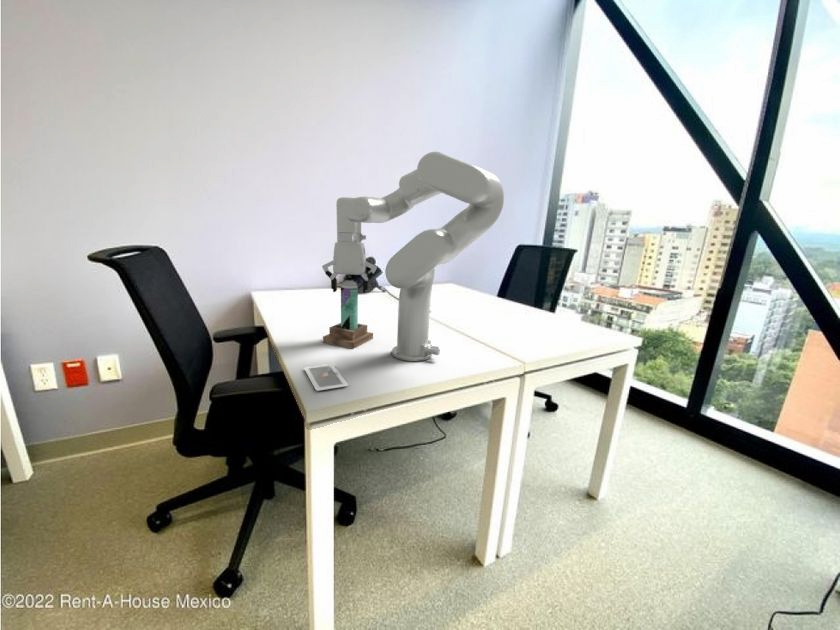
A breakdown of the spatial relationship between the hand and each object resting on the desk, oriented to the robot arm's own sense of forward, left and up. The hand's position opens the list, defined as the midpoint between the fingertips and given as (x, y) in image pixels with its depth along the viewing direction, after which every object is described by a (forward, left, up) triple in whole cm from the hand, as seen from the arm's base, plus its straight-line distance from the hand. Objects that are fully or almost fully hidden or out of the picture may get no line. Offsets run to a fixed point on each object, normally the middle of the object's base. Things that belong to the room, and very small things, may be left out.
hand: (349, 291), depth 122 cm
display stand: (0, 0, -17) cm, 17 cm away
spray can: (0, 0, -15) cm, 15 cm away
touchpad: (-11, +28, -18) cm, 35 cm away
